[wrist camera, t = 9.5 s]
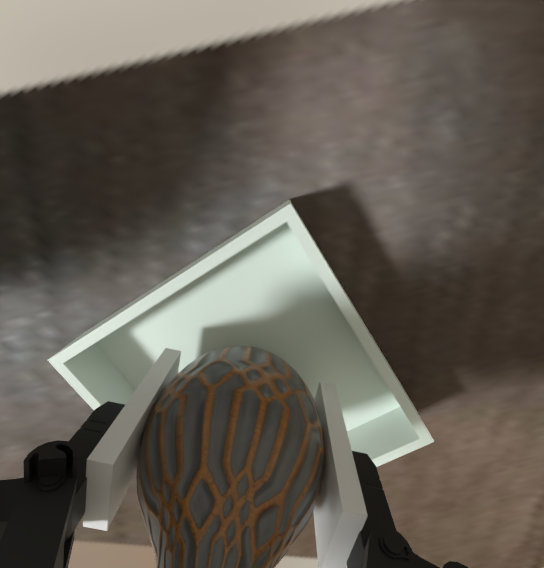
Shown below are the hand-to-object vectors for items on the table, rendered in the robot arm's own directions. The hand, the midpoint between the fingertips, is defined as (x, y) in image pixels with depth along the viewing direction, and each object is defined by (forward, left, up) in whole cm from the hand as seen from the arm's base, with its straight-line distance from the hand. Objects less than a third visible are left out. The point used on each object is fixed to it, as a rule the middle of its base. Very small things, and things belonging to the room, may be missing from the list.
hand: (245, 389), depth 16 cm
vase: (0, 0, -1) cm, 1 cm away
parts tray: (0, 0, -2) cm, 2 cm away
